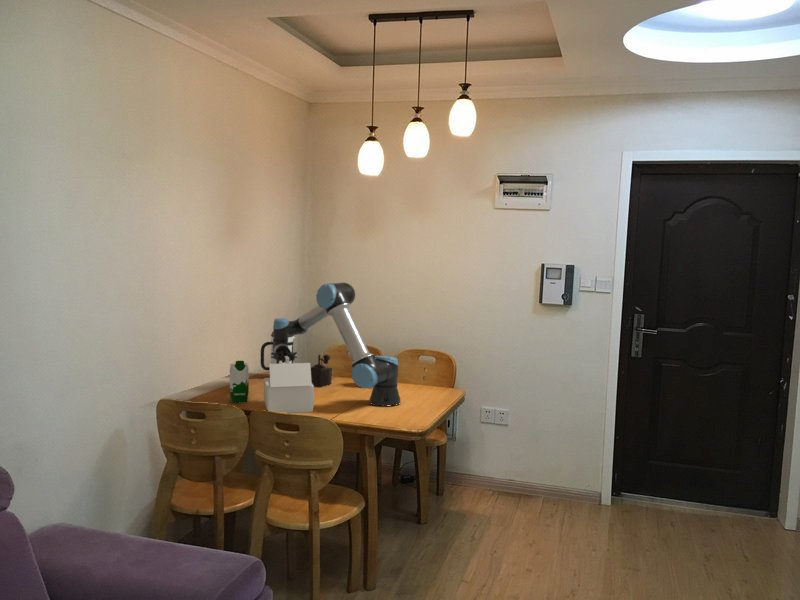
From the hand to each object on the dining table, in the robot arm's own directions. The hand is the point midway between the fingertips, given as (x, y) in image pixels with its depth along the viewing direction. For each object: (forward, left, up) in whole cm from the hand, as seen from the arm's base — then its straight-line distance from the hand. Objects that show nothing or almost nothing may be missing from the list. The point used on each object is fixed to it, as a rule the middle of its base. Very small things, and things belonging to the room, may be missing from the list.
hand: (287, 361), depth 312 cm
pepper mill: (+24, -43, -22) cm, 54 cm away
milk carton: (+24, +10, -22) cm, 34 cm away
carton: (-1, 0, -22) cm, 22 cm away
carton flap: (-8, +4, -5) cm, 10 cm away
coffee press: (+54, -38, -22) cm, 70 cm away
